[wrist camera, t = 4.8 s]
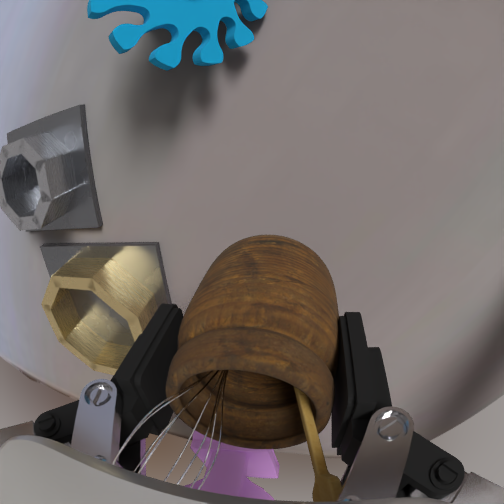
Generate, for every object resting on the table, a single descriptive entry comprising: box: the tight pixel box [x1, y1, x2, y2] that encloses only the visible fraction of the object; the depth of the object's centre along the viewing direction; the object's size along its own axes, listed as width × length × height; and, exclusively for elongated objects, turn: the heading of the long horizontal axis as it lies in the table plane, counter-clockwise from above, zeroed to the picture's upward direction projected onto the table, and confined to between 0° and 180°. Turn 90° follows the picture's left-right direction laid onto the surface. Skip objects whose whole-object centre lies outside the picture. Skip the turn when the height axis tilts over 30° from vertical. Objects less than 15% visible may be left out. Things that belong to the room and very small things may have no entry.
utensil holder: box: [112, 235, 342, 502], centre depth 9 cm, size 6×6×12 cm
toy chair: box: [184, 431, 279, 500], centre depth 21 cm, size 8×9×15 cm
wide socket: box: [40, 242, 172, 375], centre depth 22 cm, size 12×12×4 cm
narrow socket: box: [0, 105, 103, 231], centre depth 17 cm, size 9×9×4 cm
